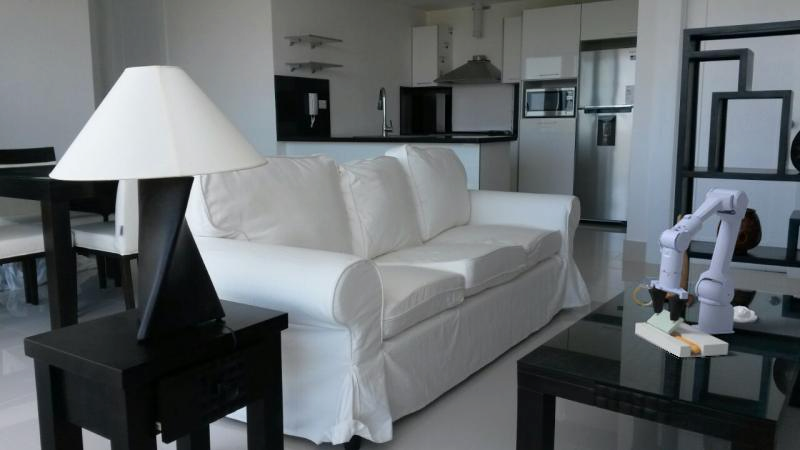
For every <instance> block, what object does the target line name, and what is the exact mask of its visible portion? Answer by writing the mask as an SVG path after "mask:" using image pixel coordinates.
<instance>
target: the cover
mask: <svg viewBox="0 0 800 450" xmlns="http://www.w3.org/2000/svg"><path fill="white" fill-rule="evenodd" d="M682 322H683V323H684V322H685V319H684V318H683V317H681V316H679V319H678V320H677V321H671V320H670V311H668V310H667V309H664V308H663V310H662V312H661V313H654V314H653V315H652V316H651V317H650V318H648V319H647V321H646V323H647V324H649V325H651V326H653V327H655V328H657V329H659V330H661V331H663V332H665V333H667V334H670V333H671V332H672V331H673V330H675V329H676V328H677V327H678V326H679V325H680V324H681V323H682Z"/></svg>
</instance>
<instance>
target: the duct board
mask: <svg viewBox="0 0 800 450" xmlns="http://www.w3.org/2000/svg"><path fill="white" fill-rule="evenodd" d="M670 334H676V335H678V336H680V337H682V338H684V339H686V340H688V341H690V342H692V343H694V344H696V345H697V346H699V348H700V352H699V353H698V354H693V353H691V346H690V345H688V344H686V343H684V342H682V341H681V340H679V339H677V338H675V337H673V336H671V335H670ZM670 334H667V333H665V332H663V331H661V330H659V329H657V328H655V327H654V326H652V325H650V324H648V323H647V322H635V331H634V335H636V336H638V337H639V338H640V339H641V338H642V339H643V340H645V341H646V342H648V343H650V344H652V345H653V344H654V346H655V345H656V347H657V346H658V347H657V348H659V347H660V348H659V349H661V348H662V349H664V350H666V351H668V352H669V353H668V352H667V353H668V354H670V353H672V354H674V355H676V356H678V357H681V358H682V357H701V358H706V357H705V356H716V357H719V356H718V355H727V356H728V350H729V343H728V342H726V341H725V340H722V339H719V338H718V337H715V336H713V335H712V334H707V333H705V332H703V331H700V330H698V329H696V328H694V327H692V325H690V324H688V323H686V322H684V321H683V322H682V323H681V324H680V325H679V326H678V327H677V328H676V329H675V330H673V331H672V332H671V333H670ZM662 349H661V350H662ZM664 350H663V351H664ZM666 351H665V352H666Z"/></svg>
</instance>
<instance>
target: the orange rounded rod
mask: <svg viewBox="0 0 800 450" xmlns="http://www.w3.org/2000/svg"><path fill="white" fill-rule="evenodd" d="M670 335H671V336H673V337H675V338H677V339H679V340H681V341H682V342H684V343H686V344H688V345H690V346H691V353H693V354H698V353H699V352H700V348H699V346H697V345H696V344H694V343H692V342H690V341H688V340H686V339H684V338H682V337H680V336H678V335H676V334H670Z"/></svg>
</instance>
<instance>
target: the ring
mask: <svg viewBox="0 0 800 450" xmlns="http://www.w3.org/2000/svg"><path fill="white" fill-rule="evenodd" d="M642 289H645V290H646V289H647V291H648V290H649V289H652V288H651V286H650V284H648V285H647V283H646V282H645V283H639V284H638V285H637V287H636V288H635V289H634V291H633V295H632V296H633V300H634V301H635V302H636V304H637V305H640V306H642V307H645V306H649V305H651V304H653V302H652V299H651V300H650V301H649V302H646V303H645V302H641V301H639V300H638V299H637V296H636V295H637V294H636V293H637V292H639V291H640V290H642Z"/></svg>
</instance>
